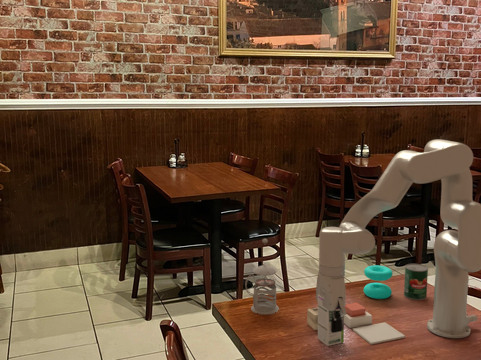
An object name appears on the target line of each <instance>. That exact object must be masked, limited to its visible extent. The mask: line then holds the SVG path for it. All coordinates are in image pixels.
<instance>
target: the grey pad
mask: <svg viewBox="0 0 481 360" xmlns="http://www.w3.org/2000/svg"><path fill="white" fill-rule="evenodd" d="M352 331H353V332H354V333H356V334H357V335H358V336H360V337H361V339H364V341H366V342H367V343H369V344H370V345H377V344H381V343H385V342H390V341H396V340H400V339H405V338H406V335H405V334H404V333H402V332H400V331H399V330H397V329H395V328H394V327H392V326H391V325H390V324H388V323H387V322H379V323H376V324H375V323H374V324H370V325H365V326H359V327H354V328H352Z"/></svg>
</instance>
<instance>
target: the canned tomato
mask: <svg viewBox="0 0 481 360" xmlns="http://www.w3.org/2000/svg"><path fill="white" fill-rule="evenodd" d="M428 272H429V268H428V266H427V265H424V264H419V263H408V264H405V266H404V282H403V283H404V285H403V286H404V288H403V289H404V290H403V297H405V298H406V299H409V300H413V301H414V300H415V301H422V300H426V299H427V293H428V276H429V275H428Z"/></svg>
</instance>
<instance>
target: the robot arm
mask: <svg viewBox="0 0 481 360" xmlns="http://www.w3.org/2000/svg"><path fill="white" fill-rule="evenodd" d="M423 149H424V150H423V152H418V151H415V150H410V149H408V150H407V149H405V150H401V151H399V152H397V153H396V154H395V155H394V156H393V158H392V159H391V161H390V162H389V163H388V165H387V167H386V168H385V170H384V171H383V173H382V174H381V175H380V177H379V179H377V181H376V183H375V185H374V186H373V187H372V189H371V190H370V191H369V192H367V194H365V195H363V197H361V198H360V199H359V200H358V201H357V202H356V203H354V205H352V206H351V208H350V209H349V210H348V212H347V213H346V214H345V216H344V218H343V219H342V221H341V222H340V224H339V226H326V227H323V228H321V229H320V231H319V236H318V237H319V241H318V242H319V246H318V248H319V249H318V251H319V252H318V272H317V278H316V287H315V300H316V302H317V303H318V294H319V295H322V296H321V297H323V298H322V299H323V300H322V302H323V306H324V307H325V308H326V309H328V310H329V311H332V317H333V319H331V332H332V333H335V332H340V331H341V330H342V319H343V317H344V316H345V315H346V314H347V312H346V309H345V305H346V300H347V299H346V279H345V273H346V254H349V255H366V254H367V255H368V254H369V253H371V251H373V249H374V248H375V246H376V240H375V236H374V235H373V234H372V232H370V231H369V230H368V229H366V227H367V225H368V224H369V223H370V221H371V220H372V219H373V218H374V217H375V216H377V215H378V214H380V213H383V212H385V211H389V210H392V209H395V208H396V207H397V206H399V204H400V203H401V201H402V199H403V198H404V196H405V195H406V194H407V192H408V190H409V189H410V187H411V186H412V185H413V183H415V184H419V185H420V184H428V183H433V182H436V181H441V196H440V198H441V199H440V219H441V221H442V223H443V224H445V225H446V226H448V227H450V228H452V229H448V230H446V229H445V230H443V231H442V232H440V233H439V234H437V236H436V237H435V239H434V243H433V252H434V253H433V254H434V263H435V266H434V267H435V276H434V291H433V292H434V293H433V309H432V318H430V319H429V320H428V321H427V323H426V324H427V325H426V327H427V329H428V331H430V332H431V333H433V334H434V335H437V336H440V337H443V338H448V339H463V338H466V337H468V336H470V334H471V327H470V326H469V324H471V323H472V322H477V321H478V316H477V315H476V314H471V315H468V313H467V307H468V305H467V303H468V290H469V277H470V276H469V274H470V273H475V272H478V271H479V272H480V271H481V203H479V202H477V201H474V200H473V175H472V172H471V170H470V168H471V166H472V165H473V164H472V163H473V161H474V153H473V151H472V149H471V148H470V147H469V146H468V145H466V144H465V143H462V142H457V141H451V140H447V139H432V140H429V141H428V142H427V143H426V145H425V146H424V148H423ZM453 229H454V230H453ZM324 299H325V300H324ZM336 307H339V308H337V309H336ZM335 311H338V312H339V313H338V314H337V315H336V313H335ZM470 322H471V323H470Z"/></svg>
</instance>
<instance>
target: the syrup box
mask: <svg viewBox="0 0 481 360" xmlns="http://www.w3.org/2000/svg"><path fill="white" fill-rule="evenodd" d="M321 296H322V295H319V294H318V302H317V308H318V330H317V339H318V340H319V341H320V342H322V344H324V345H325V346H326V347H330V346H333V345H337V344H344V342H345V341H344V340H345V339H344V337H345V335H344V334H345V333H344V332H345V324H344V317H343V319H342V330H341V331H340V332H335V333H332V332H331V319H333V317H332V311H329V310H328V309H326V308H325V307H324V306H323V302H322V300H323V299H322V298H323V297H321ZM324 300H325V299H324ZM337 308H339V307H336V309H337ZM335 313H336V315H337V314H338V313H339V312H338V311H335Z"/></svg>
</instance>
